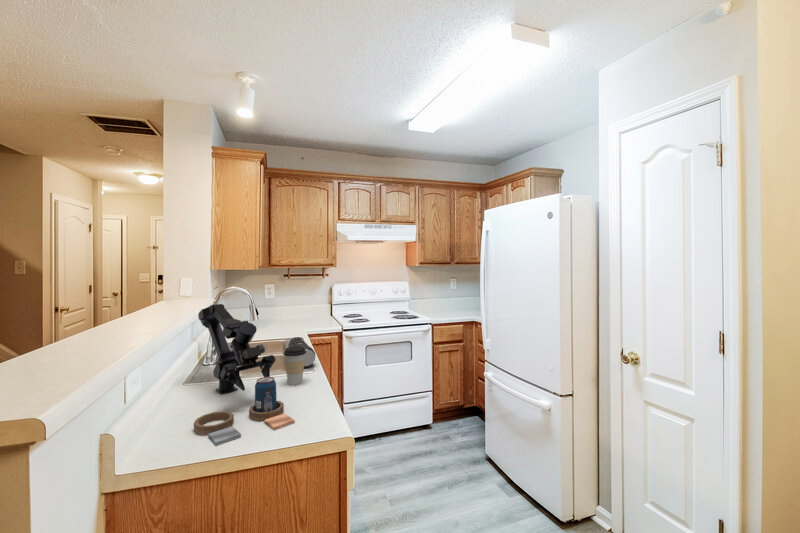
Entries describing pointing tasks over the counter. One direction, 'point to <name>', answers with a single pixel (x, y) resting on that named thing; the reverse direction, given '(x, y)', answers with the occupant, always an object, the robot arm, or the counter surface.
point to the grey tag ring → (217, 427)
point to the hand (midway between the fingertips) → (256, 386)
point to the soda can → (265, 395)
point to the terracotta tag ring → (272, 416)
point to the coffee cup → (294, 364)
